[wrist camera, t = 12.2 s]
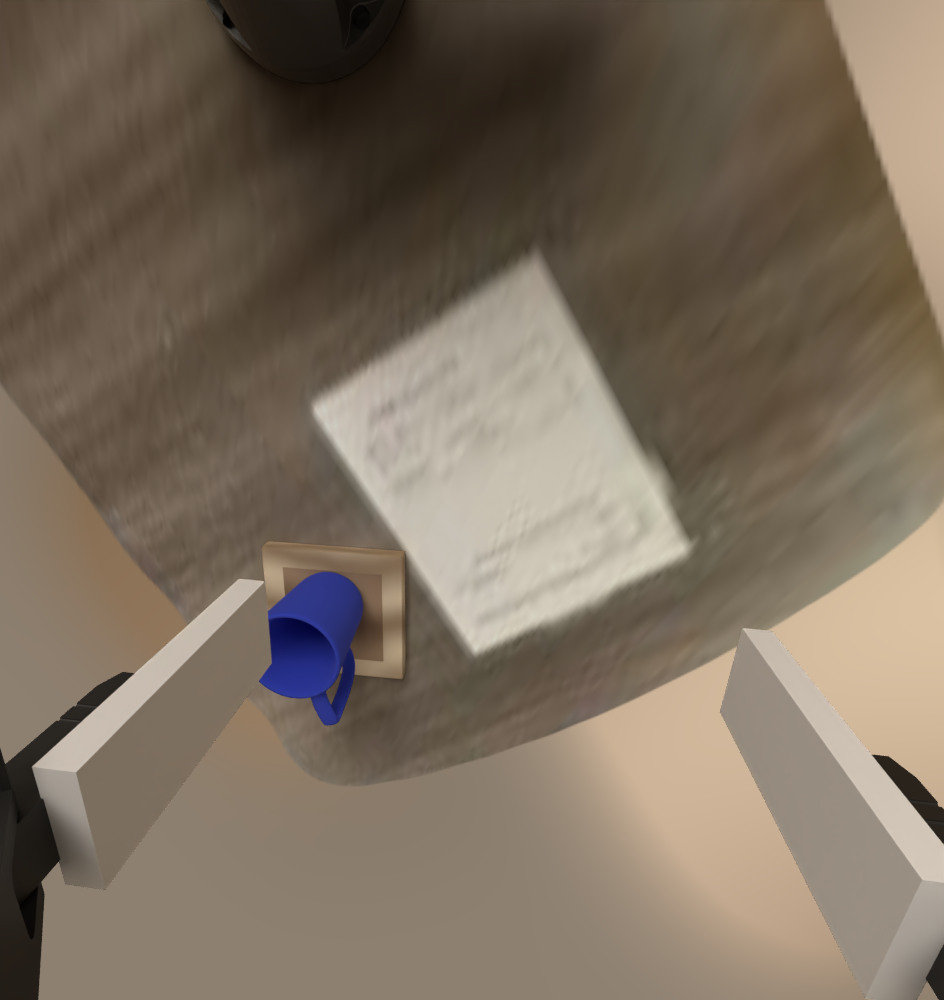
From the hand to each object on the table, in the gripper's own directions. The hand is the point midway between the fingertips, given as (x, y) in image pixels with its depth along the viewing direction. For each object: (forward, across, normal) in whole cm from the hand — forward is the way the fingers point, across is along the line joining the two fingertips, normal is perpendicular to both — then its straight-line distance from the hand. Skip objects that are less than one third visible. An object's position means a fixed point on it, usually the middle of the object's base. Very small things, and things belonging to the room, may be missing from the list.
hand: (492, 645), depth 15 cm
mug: (+32, -16, -20) cm, 42 cm away
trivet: (+34, -16, -21) cm, 43 cm away
